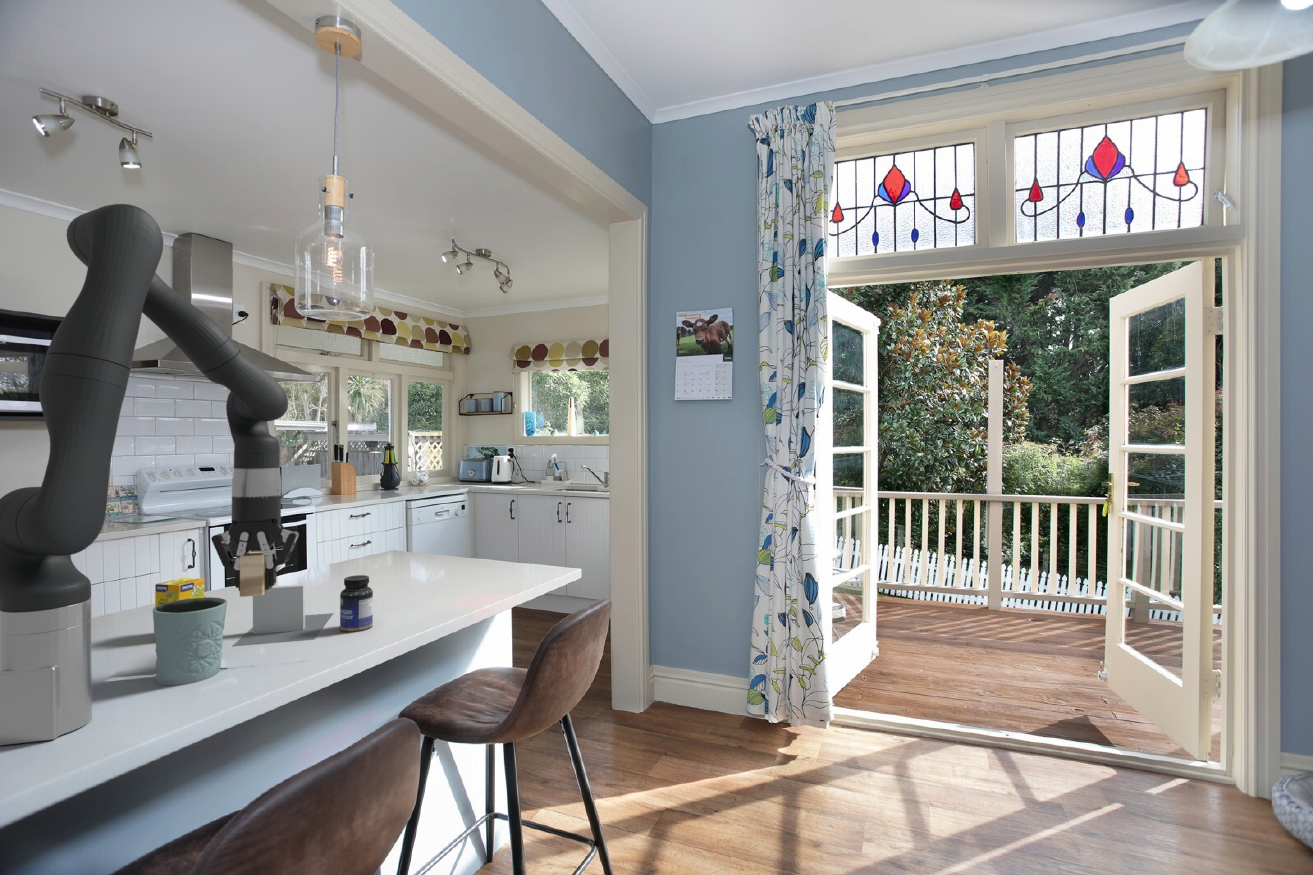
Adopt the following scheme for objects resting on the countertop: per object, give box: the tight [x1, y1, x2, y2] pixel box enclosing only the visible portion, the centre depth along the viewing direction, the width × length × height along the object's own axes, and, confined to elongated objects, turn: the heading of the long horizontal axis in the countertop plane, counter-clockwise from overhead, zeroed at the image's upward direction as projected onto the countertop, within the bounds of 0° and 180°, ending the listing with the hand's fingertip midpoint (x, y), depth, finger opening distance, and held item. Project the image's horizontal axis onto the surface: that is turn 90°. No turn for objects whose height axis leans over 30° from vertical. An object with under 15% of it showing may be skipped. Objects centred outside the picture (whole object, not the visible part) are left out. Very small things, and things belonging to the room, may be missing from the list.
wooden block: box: [239, 551, 286, 598], centre depth 119 cm, size 13×4×7 cm, turn 16°
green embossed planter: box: [152, 596, 228, 686], centre depth 108 cm, size 10×10×12 cm
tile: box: [252, 583, 306, 634], centre depth 130 cm, size 2×9×9 cm, turn 107°
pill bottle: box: [339, 574, 374, 634], centre depth 132 cm, size 6×6×11 cm
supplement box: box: [154, 577, 206, 608], centre depth 129 cm, size 6×6×11 cm
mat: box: [232, 612, 334, 647], centre depth 132 cm, size 19×14×1 cm
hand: (255, 588), depth 115 cm, fingers closed on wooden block, 3 cm apart
